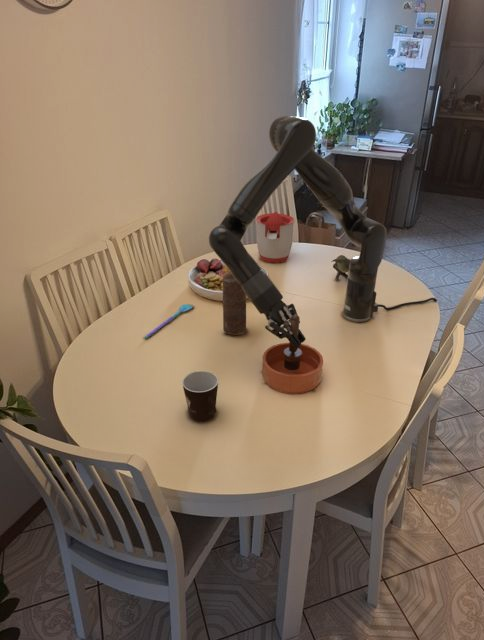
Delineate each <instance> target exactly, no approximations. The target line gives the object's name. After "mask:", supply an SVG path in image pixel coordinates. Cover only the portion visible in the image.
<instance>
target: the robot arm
mask: <svg viewBox="0 0 484 640" xmlns="http://www.w3.org/2000/svg"><path fill="white" fill-rule="evenodd" d="M268 130H269V131H268V138H269V142H270V144H271V147H272V148H273V149H274V151H275V152H276V154H275V155H274V156H273V158H272V159H271V160H270V161H269V162H268V163H267V165H266V166H265V167H263V168H262V169H261V170H260V171H258V173H256V174H255V175H254V176H252V177H251V178H250V179H249V180H248V181H247V182H246V183H245V184H244V185H243V187H242V188H240V190H239V192H238V193H237V195H236V196H235V198H234V199H233V201H232V202H231V204H230V205H229V207H228V210H227V213H226V215H225V216H224V218H223V219H222V221H221V223H219V225H217V226H215V227H213V229H211V231H210V233H209V235H208V243H209V246H210V248H211V249H212V251H213V252H214V253H215V254H216V256H217V257H218V259H219V260H222V261H223V262H224V264H225V265H226V266H227V267H228V268H229V270H230V272H231V274H232V275H233V277H234V278H235V279H236V281H237V282H238V283H239V285H240V286H241V287H242V289H243V291H244V293H245V294H246V295H247V297H248V300H249V301H250V302H251V304H252V305H253V306H254V307H255V309H256V310H257V311H258V313H259V314H261V315H263V314H264V315H265V319H266V320H267V324H266V325H264V328H265V330H267V331H268V332H269V333H271V334H272V335H274V336H275V337H277V338H278V339H279V340H282V339H287V340H288V343H291V344H292V346H293V347H294V348H297V347H299V346H300V345H301V344H303V343H304V342H305V341H306V340H307V338H306V336H305V335H304V333H303V332H302V331H301V329H299V333H298V338H297V337H296V335H295V334H294V333H293V332H292V330H291V317H292V316H293V315H298V312H297V310H296V307H295V304H294V303H290V304H286V303H285V302H284V301H283V298H284V296H283V295H282V293H281V291H280V289H278V287H277V286H276V285H275V284H274V282H273V281H272V279H271V278H270V276H269V277H268V276H267V275H266V274H265V273H264V272H263V270H262V269H261V268H260V267H259V265H260V264H258V262H257V261H256V260H255V259H254V257H253V256H252V255H251V254H250V253H249V252H248V250H247V249H246V247H245V245H244V244H243V243H242V239H243V237H244V235H245V234H246V232H247V231H248V229H249V227H250V225H251V224H252V223H253V222H254V221H255V219H256V218H257V217H258V216H259V213H261V211H262V209H263V208H264V206H265V205H266V203H267V202H268V200H269V199H270V197H271V196H272V195H273V193H274V192H275V191H276V190H277V189H278V188H279V186H280V185H282V183H283V182H284V181H285V180H286V179H287V178H288V177H289V176H290V175H291V173H292V172H293V171H294V170H295V172H296V173H297V174H298V176H299V177H300V178H301V179H302V181H303V182H304V183H305V185H306V186H307V187H308V189H309V190H310V191H311V192H312V194H313V196H315V198H316V199H317V200H318V202H319V203H320V204H321V205H322V206H323V208H324V209H325V210H326V211H327V212H328V213H329V214H330V215H331V217H332V218H334V219H335V220H336V221H337V223H338V224H339V226H340V228H341V229H342V230H343V232H344V234H345V236H346V237H347V239H348V240H349V242H350V243H351V244H352V245H354V247H355V246H356V247H357V248H359V249H360V251H359V252H360V253H359V255H356V256H353V257H352V258H350V263H349V271H348V272H347V275H348V279H346V287H345V295H344V304H343V309H342V317H343V318H344V319H346V320H348V321H351V322H356V323H363V322H367V321H369V320H370V319H373V318H374V313H379V308H383V309H384V310H386V311H390V310H394V309H398V308H400V307H404V306H409V305H417V304H425V303H428V302H429V301H434V302H438V299H436V298H435V297H430V298H427V299H423V300H416V301H409V302H408V301H407V302H403V303H400V304H396V305H394V306H389V307H388V306H387V307H386V305H384V304H378V303H376V299H377V292H376V291H375V290H376V284H377V283H376V282H377V276H378V270H379V266H380V265H381V263H382V261H383V258H384V252H385V247H386V242H387V236H388V234H387V233H388V232H387V228H386V227H385V225H383V223H380V222H379V221H376V220H374V219H371V218H369V217H368V216H366V215H365V214H364V213H363V212H362V211H361V210H360V209H359V208H358V206H357V205H356V203H355V200H354V193H353V189H352V186H351V185H350V183H349V182H348V180H347V179H346V178H345V177H344V175H343V174H342V173H341V171H340V170H339V169H338V168H337V167H335V166H334V165H333V164H332V163H331V162H329V161H328V160H327V159H326V158H324V157H323V156H321V155H320V154H319V153H318V152H317V151H315V150H314V148H313V147H314V146H315V143H316V140H317V131H316V127H315V125H314V124H313V123H312V122H311V120H308V119H307V118H304V117H299V116H292V115H282V116H279V117H277V118H275V119H274V120H273V121H272V122H271V124H270V126H269V129H268ZM299 324H301V321H300V320H299Z"/></svg>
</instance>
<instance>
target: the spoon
mask: <svg viewBox="0 0 484 640" xmlns="http://www.w3.org/2000/svg"><path fill="white" fill-rule="evenodd" d="M193 308H194V306H193V305H191V304H182V305H181V306H179V309H178V311H177V312H176V313H174V314H172V316H170V317H168V318H167V319H166V320H165V321H163V322H162V323H161V324H159V325H158V326H156V327H155V328H154V329H152V330H151V331H150V332H149V333H147V334H145V338H146V339H149V338H151V336H152V335H153V334H155V333H156V332H158V331H159V330H160V329H161V328H163V327H164V326H166V325H167V324H168V323H170V322H171V321H173V319H174V318H176V317H177V316H179V315H180V314H181V313H184V312H188V311H190V310H191V309H193Z"/></svg>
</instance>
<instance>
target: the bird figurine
mask: <svg viewBox="0 0 484 640" xmlns="http://www.w3.org/2000/svg"><path fill="white" fill-rule="evenodd" d="M350 260H351V258H348V257H347V256H345V255H343V254H340V255H338V256H336V258H334V259H332V260H331V263H332V262H334V263H333V264H332V268H333V269H334V270H335V271H336V275H335V278H334V280H335V281H339V280H340V276H342V277H343V278H345V279H346V280H347V279H348V271H349V263H350Z"/></svg>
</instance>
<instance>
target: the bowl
mask: <svg viewBox="0 0 484 640" xmlns="http://www.w3.org/2000/svg"><path fill="white" fill-rule="evenodd" d="M258 265H259V267H260V268H261V269H262V270H263V272H264V273H265V274H266V275H267V276H268V277H269V278H270V274H269V272H268V270H267V269H266V268H265V267H263V266H261V265H260V264H258ZM228 272H230V270H229V268H228V267H227V266H226V265H225V264H224V262H223V261H222V260H221V259H220V258H214V257H213V258H212V259H211V260H208V259H206V258H204V259H203V258H202V259H200V260H199V261H198V262H197V263H196V265H195V266H194V267H192V268H191V269H190V270H189V271H188V273H187V281H188V282H187V283H188V285H189V287H190V288H191V289H192V291H194V292H195V294H197V295H199V296H201V297H203V298H206V299H208V300H213V301H219V302H223V276H224V274H225V273H228ZM247 299H248V300H249V298H248V297H247V295H246V300H247Z"/></svg>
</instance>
